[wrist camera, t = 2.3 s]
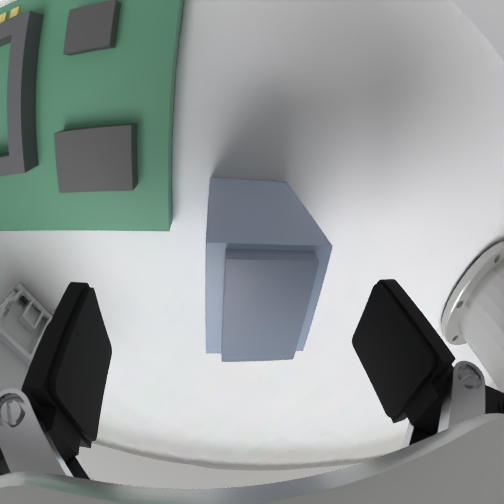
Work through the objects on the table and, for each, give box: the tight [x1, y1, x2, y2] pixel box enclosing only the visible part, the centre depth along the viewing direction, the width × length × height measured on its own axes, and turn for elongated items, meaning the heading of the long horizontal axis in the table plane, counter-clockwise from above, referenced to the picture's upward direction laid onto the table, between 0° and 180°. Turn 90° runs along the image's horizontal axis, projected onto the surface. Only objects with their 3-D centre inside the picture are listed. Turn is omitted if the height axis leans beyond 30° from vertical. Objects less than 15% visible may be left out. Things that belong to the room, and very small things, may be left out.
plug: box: [205, 178, 332, 362], centre depth 13 cm, size 4×5×8 cm
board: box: [0, 0, 184, 231], centre depth 10 cm, size 18×14×3 cm
